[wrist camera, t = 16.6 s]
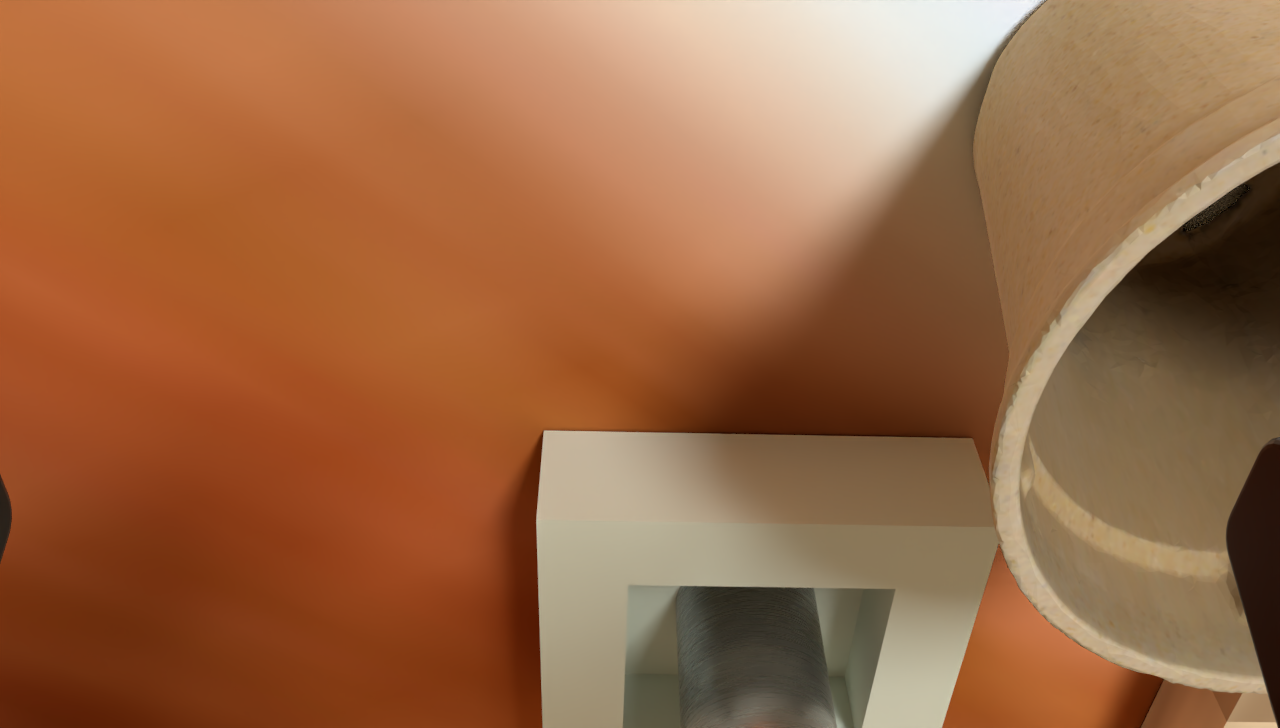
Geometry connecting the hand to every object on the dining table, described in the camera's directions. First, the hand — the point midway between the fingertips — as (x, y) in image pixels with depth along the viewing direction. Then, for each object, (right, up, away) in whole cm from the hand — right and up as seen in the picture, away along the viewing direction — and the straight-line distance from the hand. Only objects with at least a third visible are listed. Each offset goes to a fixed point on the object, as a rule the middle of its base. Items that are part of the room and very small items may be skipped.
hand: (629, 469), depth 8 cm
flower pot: (+9, +5, +12) cm, 16 cm away
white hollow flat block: (+2, -4, +19) cm, 20 cm away
